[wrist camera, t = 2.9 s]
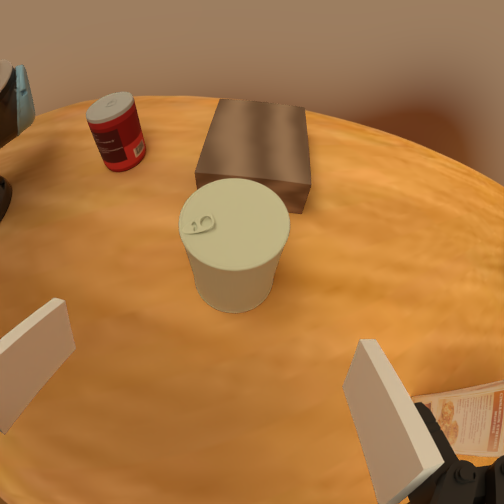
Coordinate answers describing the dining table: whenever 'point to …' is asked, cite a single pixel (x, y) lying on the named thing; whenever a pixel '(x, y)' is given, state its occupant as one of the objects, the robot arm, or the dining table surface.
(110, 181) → the dining table surface
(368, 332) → the dining table surface
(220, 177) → the walnut riser
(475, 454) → the coffeecake box
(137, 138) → the canned food
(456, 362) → the dining table surface
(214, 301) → the can
